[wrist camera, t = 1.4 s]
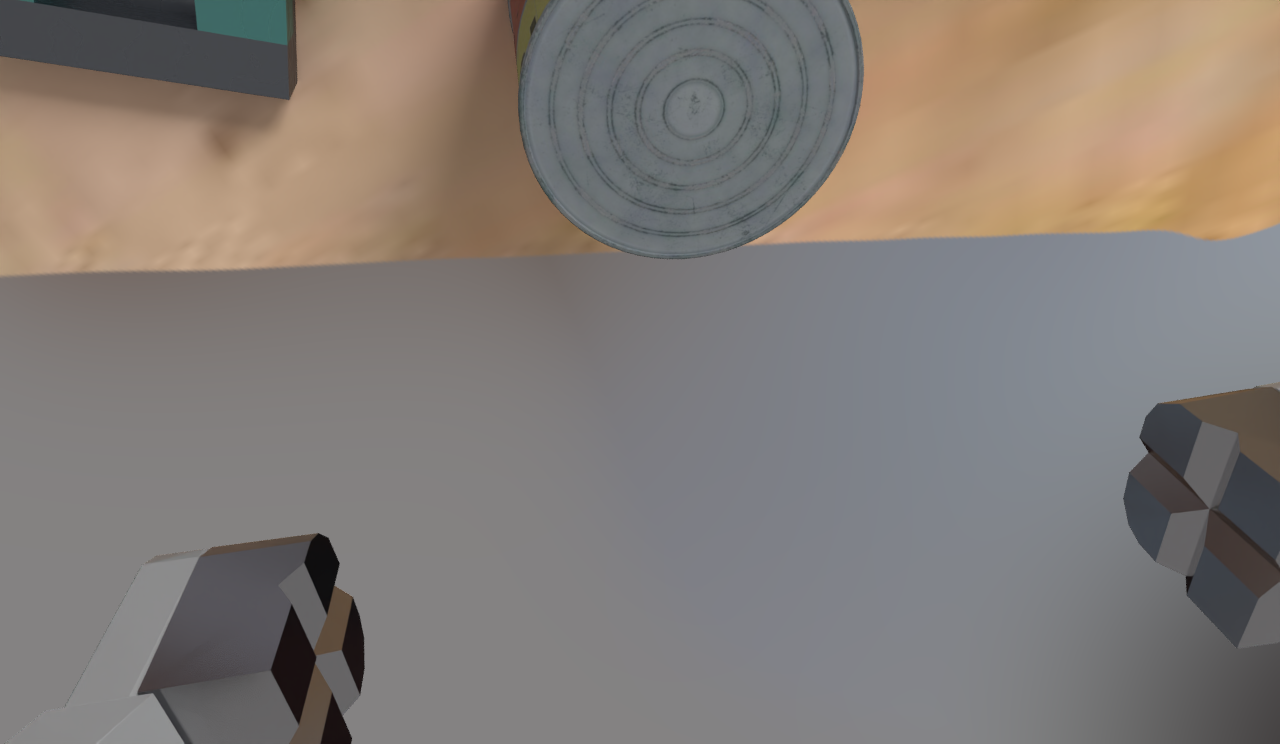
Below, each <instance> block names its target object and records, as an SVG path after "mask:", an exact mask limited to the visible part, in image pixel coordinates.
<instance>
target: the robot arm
mask: <svg viewBox="0 0 1280 744" xmlns="http://www.w3.org/2000/svg"><path fill="white" fill-rule="evenodd" d="M1140 439H1141V441H1142V442H1143V444H1144V446H1145V447H1146V449H1147V450H1148V452H1149V453H1148V454H1147V455H1146V456H1145V457H1144V458H1143V459H1142V460H1141V461H1140V462H1139V463H1138V464H1137V465H1136V466H1135V467H1134V468H1133V469H1132V470H1131V471H1130V472H1129V476H1128V480H1127V485H1126V489H1125V493H1124V498H1123V499H1124V505H1125V509H1126V514H1127V519H1128V524H1129V526H1130V528H1131V530H1132V532H1133V534H1134V535H1135V537H1136V539H1137V541H1138V543H1139V544H1140V545H1141V546H1142V547H1143V549H1144V550H1145V551H1146V552H1147V553H1148V554H1149V555H1150V556H1151V557H1152V558H1153V560H1154V561H1155V562H1157V563H1159V564H1161V565H1163V566H1165V567H1168V568H1170V569H1172V570H1174V571H1176V572H1179V573H1181V574H1183V575H1185V576H1186V592H1187V596H1188V597H1189V598H1190V599H1191V600H1192V602H1193V603H1194V604H1195V605H1196V606H1197V607H1198V608H1199V609H1200V610H1201V611H1202V612H1203V613H1204V614H1205V615H1206V616H1207V617H1208V618H1209V620H1210V621H1211V622H1212V623H1213V624H1214V625H1215V626H1216V627H1217V628H1218V629H1219V630H1220V631H1221V632H1222V633H1223V634H1224V635H1225V636H1226V638H1227V639H1228V640H1229V641H1230V642H1231V643H1232V644H1233V645H1234V646H1235V647H1236V648H1245V647H1252V646H1259V645H1265V644H1272V643H1279V642H1280V382H1278V383H1272V384H1267V385H1261V386H1256V387H1254V388H1252V389H1245V390H1238V391H1232V392H1226V393H1220V394H1213V395H1207V396H1202V397H1195V398H1189V399H1183V400H1176V401H1171V402H1164V403H1158V404H1157V405H1156V406H1155V407H1154V408H1153V409H1152V410H1151V412H1150V413H1149V414H1148V415H1147V416H1146V418H1145V421H1144V424H1143V427H1142V431H1141V434H1140ZM339 564H340V563H339V561H338V558H337V556H336V554H335V552H334V550H333V547H332V545H331V543H330V540H329V538H328V537H326V536H324V535H321V534H319V533H317V534H309V535H301V536H293V537H286V538H279V539H271V540H263V541H256V542H248V543H241V544H234V545H226V546H218V547H212V548H210V549H201V550H194V551H187V552H180V553H172V554H166V555H159V556H155V557H154V558H152V559H151V560H149V561H148V562H146V563H145V564H143V565H142V566H141V568H140V569H139V571H138V573H137V575H136V577H135V578H134V580H133V582H132V584H131V586H130V588H129V589H128V591H127V593H126V595H125V597H124V599H123V600H122V602H121V604H120V606H119V608H118V610H117V612H116V613H115V615H114V617H113V619H112V621H111V622H110V624H109V626H108V628H107V630H106V632H105V634H104V635H103V637H102V639H101V641H100V643H99V645H98V646H97V648H96V650H95V652H94V654H93V656H92V658H91V659H90V661H89V663H88V665H87V667H86V668H85V670H84V672H83V674H82V676H81V678H80V680H79V681H78V683H77V685H76V687H75V689H74V690H73V692H72V694H71V696H70V698H69V700H68V702H67V704H66V705H65V707H64V708H59V709H54V710H48V711H44V712H43V713H42V714H40V715H39V716H38V717H37V718H36V719H34V720H33V721H32V722H31V723H29V724H28V725H27V726H26V727H24V728H23V729H22V730H21V731H19V732H18V733H17V734H16V735H14V736H13V737H12V738H11V739H10V740H8V741H7V742H6V743H5V744H351V742H352V737H351V734H350V732H349V730H348V728H347V725H346V723H345V721H344V718H343V715H344V713H345V712H346V711H347V710H348V709H349V707H351V705H352V704H353V703H354V702H355V701H356V700H357V699H358V697H359V696H360V693H361V687H362V681H363V675H364V669H365V668H364V667H365V666H364V635H363V630H362V625H361V620H360V615H359V613H358V610H357V607H356V605H355V602H354V599H353V597H352V596H350V595H349V594H347V593H345V592H344V591H342V590H341V589H339V588H337V587H336V586H334V585H335V581H336V577H337V573H338V568H339Z"/></svg>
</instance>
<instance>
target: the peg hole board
mask: <svg viewBox="0 0 1280 744" xmlns="http://www.w3.org/2000/svg"><path fill="white" fill-rule="evenodd" d="M0 56H5V57H11V58H18V59H24V60H31V61H37V62H44V63H51V64H57V65H64V66H70V67H77V68H83V69H90V70H97V71H103V72H110V73H116V74H123V75H129V76H136V77H142V78H149V79H156V80H162V81H169V82H175V83H182V84H188V85H195V86H202V87H208V88H215V89H221V90H228V91H234V92H241V93H248V94H254V95H261V96H267V97H274V98H280V99H287V100H289V99H290V97H291V95H292V93H293V90H294V88H295V86H296V84H297V55H296V21H295V0H0Z"/></svg>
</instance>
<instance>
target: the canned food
mask: <svg viewBox="0 0 1280 744" xmlns="http://www.w3.org/2000/svg"><path fill="white" fill-rule="evenodd" d="M508 8H509V17H510V22H511V26H512V31H513V34H514V44H515V54H516V63H517V73H518V83H519V92H518V113H519V122H520V131H521V136H522V141H523V145H524V149H525V152H526V155H527V158H528V161H529V164H530V166H531V168H532V170H533V173H534V175H535V177H536V179H537V181H538V182H539V184H540V186H541V188H542V189H543V191H544V192H545V194H546V195H547V196H548V198H549V199H550V201H551V202H552V203H553V204H554V205H555V207H556V208H557V209H558V210H559V211H560V212H561V213H562V214H563V215H564V216H565V217H566V218H567V219H568V220H569V221H570V222H571V223H572V224H574V225H575V226H576V227H578V228H579V229H580V230H582V231H583V232H584V233H586V234H588V235H589V236H591V237H593V238H594V239H596V240H598V241H600V242H602V243H604V244H606V245H608V246H610V247H613V248H615V249H618V250H621V251H624V252H627V253H631V254H635V255H639V256H644V257H650V258H660V259H661V258H662V259H687V258H697V257H703V256H708V255H713V254H717V253H721V252H725V251H728V250H731V249H734V248H737V247H739V246H742V245H744V244H746V243H749V242H751V241H753V240H755V239H757V238H759V237H761V236H763V235H764V234H766V233H768V232H770V231H771V230H773V229H774V228H776V227H777V226H779V225H780V224H782V223H783V222H784V221H786V220H787V219H788V218H790V217H791V216H792V215H793V214H795V213H796V212H797V211H798V210H799V209H800V208H801V207H802V206H803V205H805V204H806V203H807V201H808V200H809V199H810V198H811V197H812V196H813V195H814V194H815V193H816V192H817V191H818V189H819V188H820V187H821V186H822V184H823V183H824V182H825V181H826V179H827V178H828V176H829V175H830V174H831V172H832V171H833V169H834V168H835V166H836V164H837V163H838V161H839V159H840V157H841V156H842V154H843V152H844V150H845V148H846V145H847V143H848V141H849V139H850V136H851V134H852V131H853V128H854V125H855V123H856V119H857V115H858V111H859V107H860V102H861V96H862V90H863V77H864V63H863V50H862V42H861V37H860V33H859V28H858V24H857V21H856V18H855V15H854V12H853V10H852V7H851V5H850V3H849V1H848V0H508Z"/></svg>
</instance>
